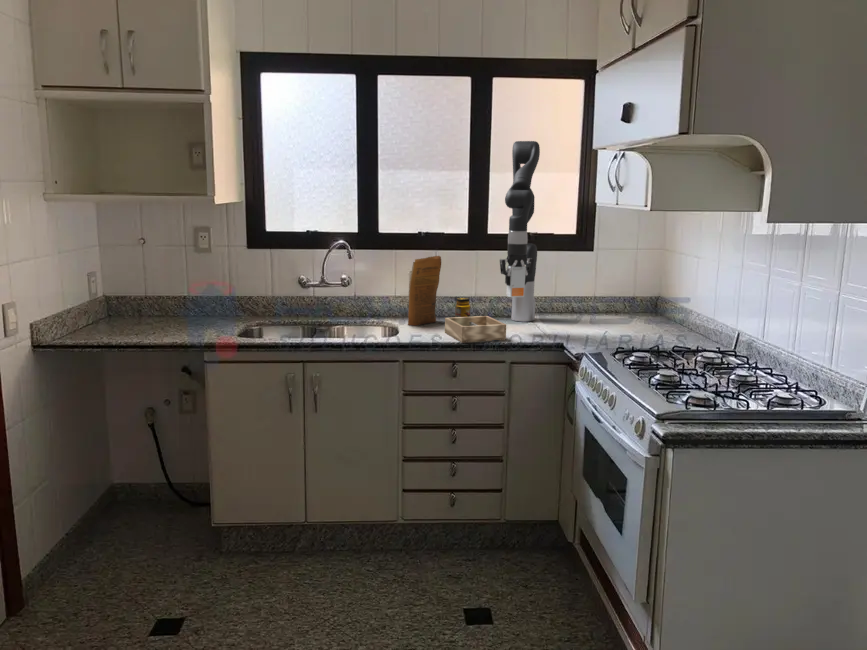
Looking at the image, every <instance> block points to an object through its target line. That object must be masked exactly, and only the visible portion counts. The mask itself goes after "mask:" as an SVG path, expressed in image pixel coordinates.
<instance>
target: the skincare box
mask: <svg viewBox="0 0 867 650" xmlns="http://www.w3.org/2000/svg"><path fill="white" fill-rule="evenodd" d="M509 268H511V267H510V266H509ZM525 271H526V266H525V267H512V270H511V274H510V276H511V279H510V286H508V285H506V296H507V297H509V298H512V297H524V289H525Z"/></svg>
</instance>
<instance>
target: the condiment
mask: <svg viewBox="0 0 867 650" xmlns="http://www.w3.org/2000/svg"><path fill="white" fill-rule="evenodd" d="M454 309H455V310H454V314H455V315H454V317H471V305H470V299H469V297H457V298H456V304H455V307H454Z"/></svg>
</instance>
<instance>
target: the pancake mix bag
mask: <svg viewBox="0 0 867 650" xmlns="http://www.w3.org/2000/svg"><path fill="white" fill-rule="evenodd" d="M441 268H442V256H440V255H434V256H428V257H423V258H415V259H414V261H413V263H412V267H411V272H410V273H411V274H410V278H409V287H408V288H409V289H408V308H407V309H408V312H407V313H408V320H407V326H422V325H423V326H424V325H428V324H432V323H433V324H434V323H436V322H437V316H436V307H437V305H436V304H437V292H438V287H439V284H440V274H441Z"/></svg>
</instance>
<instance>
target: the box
mask: <svg viewBox="0 0 867 650" xmlns="http://www.w3.org/2000/svg"><path fill="white" fill-rule="evenodd" d="M444 334H447V335H448V336H449V337H451V338H453V339H454V340H456V341H458V342H459V341H460V342H459V343H462V344H463V343H464V344H465V343H478V342H480V343H481V342H482V341H483V342H493V341H492V340H500V341H506V340H505V339H507V324H506V323H504V322H502V321H500V320H497V319H495V318H493V317H491V316H488V315H478V316H470V317H455V316H454V317H445V318H444Z"/></svg>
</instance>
